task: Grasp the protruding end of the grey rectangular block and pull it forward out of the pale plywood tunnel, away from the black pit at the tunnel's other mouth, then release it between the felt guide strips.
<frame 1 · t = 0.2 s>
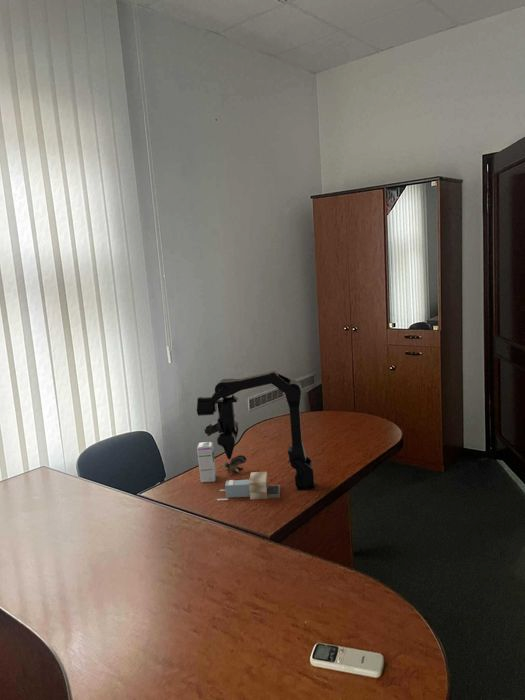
hand: (230, 454, 204), 14 cm above the table, fingers open, 9 cm apart
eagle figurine: (235, 472, 223), on the table
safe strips: (224, 495, 201), on the table
grey rectangular block: (245, 487, 200), point 2 cm above the table, slide at 0.0 cm
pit: (273, 492, 200), on the table
syrup box: (208, 479, 217), on the table
tunnel: (259, 493, 200), on the table
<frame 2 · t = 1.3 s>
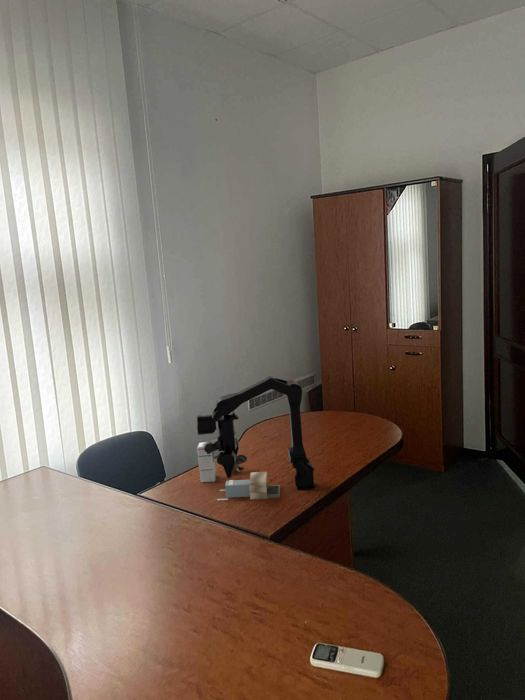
hand: (230, 473, 200), 8 cm above the table, fingers open, 9 cm apart
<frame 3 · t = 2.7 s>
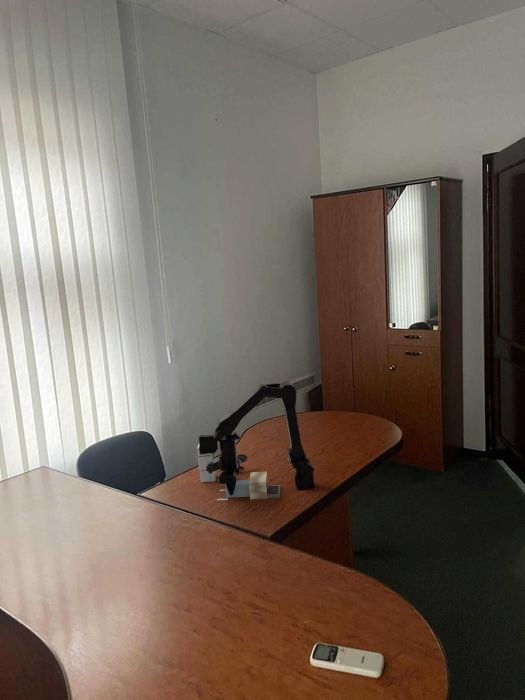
hand: (231, 492, 201), 1 cm above the table, fingers closed on grey rectangular block, 4 cm apart
grey rectangular block: (245, 487, 200), point 2 cm above the table, slide at 0.0 cm, touching gripper
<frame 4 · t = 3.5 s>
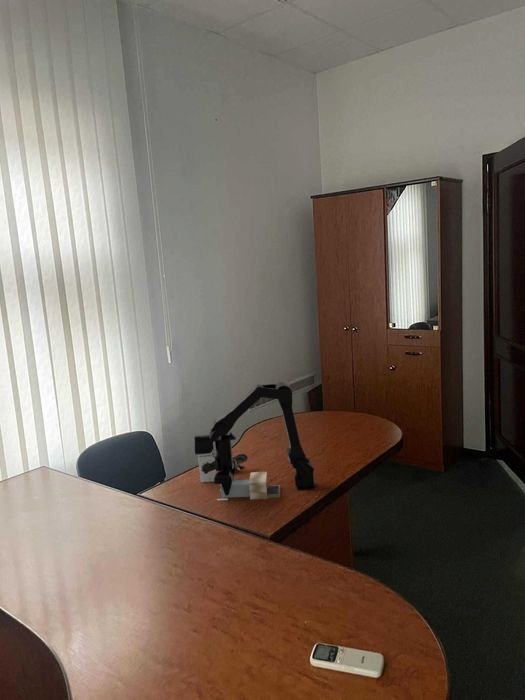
hand: (227, 492, 201), 1 cm above the table, fingers closed on grey rectangular block, 4 cm apart
grey rectangular block: (240, 488, 200), point 2 cm above the table, slide at 1.6 cm, touching gripper
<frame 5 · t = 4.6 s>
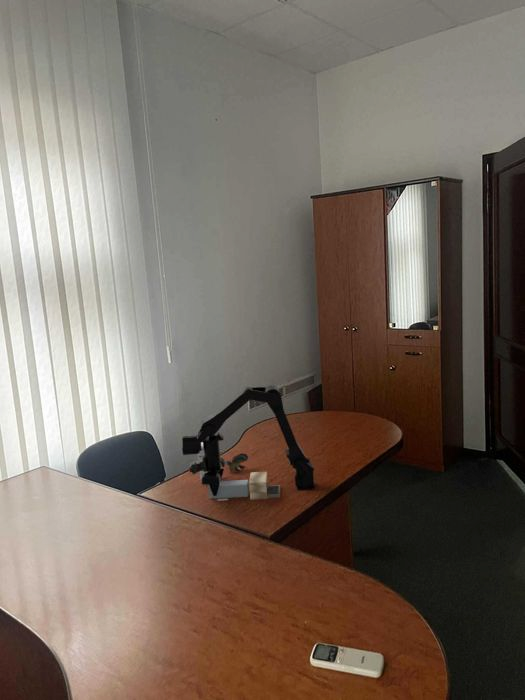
hand: (215, 492, 201), 1 cm above the table, fingers closed on grey rectangular block, 4 cm apart
grey rectangular block: (229, 488, 201), point 2 cm above the table, slide at 6.0 cm, touching gripper
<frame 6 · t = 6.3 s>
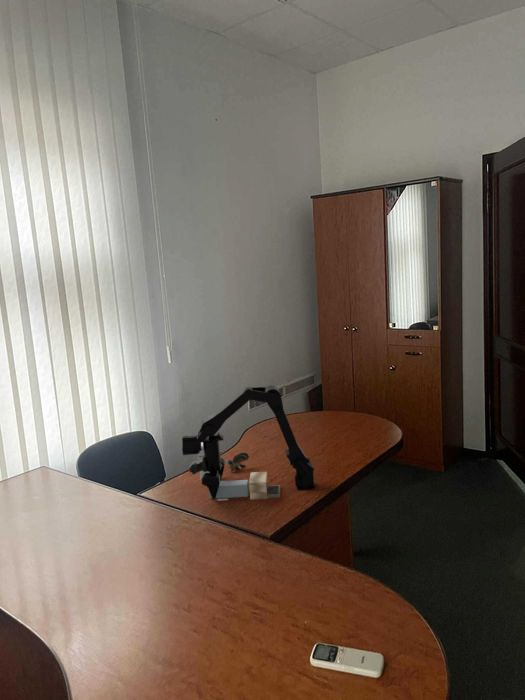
hand: (215, 493, 201), 1 cm above the table, fingers open, 9 cm apart
grey rectangular block: (228, 488, 201), point 2 cm above the table, slide at 6.0 cm
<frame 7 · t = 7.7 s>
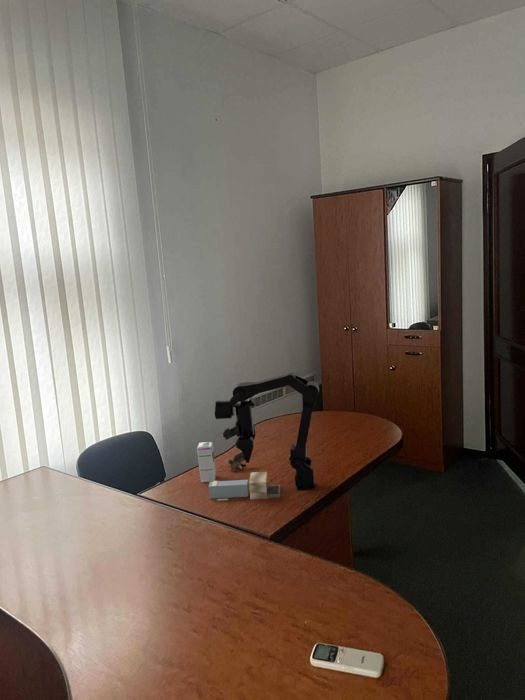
hand: (248, 458, 204), 12 cm above the table, fingers open, 9 cm apart
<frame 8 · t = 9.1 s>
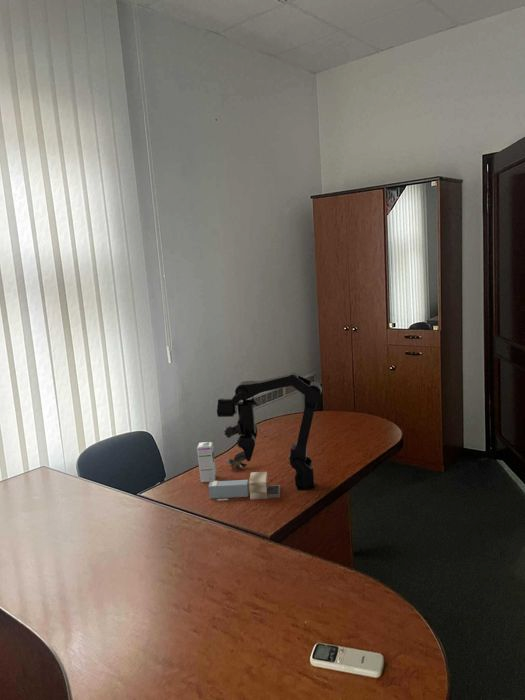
hand: (249, 456, 205), 12 cm above the table, fingers open, 9 cm apart
at the end: grey rectangular block slide at 6.0 cm; the gripper is holding nothing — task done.
